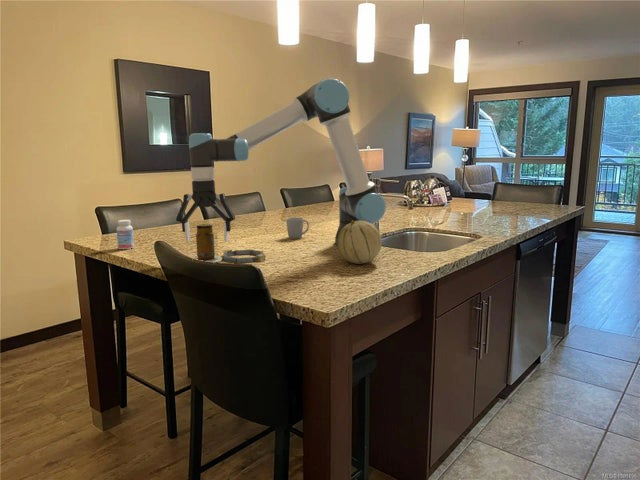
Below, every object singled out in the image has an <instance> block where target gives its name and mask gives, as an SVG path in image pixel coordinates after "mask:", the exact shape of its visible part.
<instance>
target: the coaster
mask: <svg viewBox="0 0 640 480" xmlns="http://www.w3.org/2000/svg"><path fill="white" fill-rule="evenodd" d="M215 257H219V256H216V255H215ZM222 261H223V258H222V259H218V260H214V261H211V262H218V263H220V262H222Z"/></svg>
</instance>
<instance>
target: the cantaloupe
mask: <svg viewBox="0 0 640 480" xmlns="http://www.w3.org/2000/svg"><path fill="white" fill-rule="evenodd" d="M382 243H383V242H382V236H381V234H380V232H379V230H378V228H377V227H376V226H374V225H373V224H371V223H369V222H367V221H351V223H349V224H347V225H346V226H345V227H344V228H343V229H342V230H341V231H340V233H339V236H338V244H337V246H338V247H337V248H338V251H339V252H340V254H341V256H342V257H343V258H344V259H345V260H346V261H348V262H349V263H352V264H357V265H361V264H362V265H363V264H367V263H370V262H372V261H374V259H375V258H377V257H378V255H379V253H380V251H381V248H382Z"/></svg>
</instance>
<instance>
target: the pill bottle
mask: <svg viewBox="0 0 640 480" xmlns="http://www.w3.org/2000/svg"><path fill="white" fill-rule="evenodd" d="M117 224H118V226H117V227H116V239H117V248H118V249H119V250H120V249H123V251H124V249H127V250H132V249H131V248H133V249H134V248H135V240H134V239H135V238H134V228H133V226H132V225H131V219H120V220H117Z"/></svg>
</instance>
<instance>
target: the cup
mask: <svg viewBox="0 0 640 480" xmlns="http://www.w3.org/2000/svg"><path fill="white" fill-rule="evenodd" d="M285 220H286V221H285V222H286V229H287V235H288V239H291V240H298V239H299V238H300V239H301V238H302V237H303V235H305V234H306V233H307V232H308V231H309V227H310V225H309V224H310V223H309V221H308V220H307V219H304V218H303V217H287V218H286V219H285ZM304 223H306V225H307V228H306V229H305V230H304V231H303V229H304ZM300 239H299V240H300Z"/></svg>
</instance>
